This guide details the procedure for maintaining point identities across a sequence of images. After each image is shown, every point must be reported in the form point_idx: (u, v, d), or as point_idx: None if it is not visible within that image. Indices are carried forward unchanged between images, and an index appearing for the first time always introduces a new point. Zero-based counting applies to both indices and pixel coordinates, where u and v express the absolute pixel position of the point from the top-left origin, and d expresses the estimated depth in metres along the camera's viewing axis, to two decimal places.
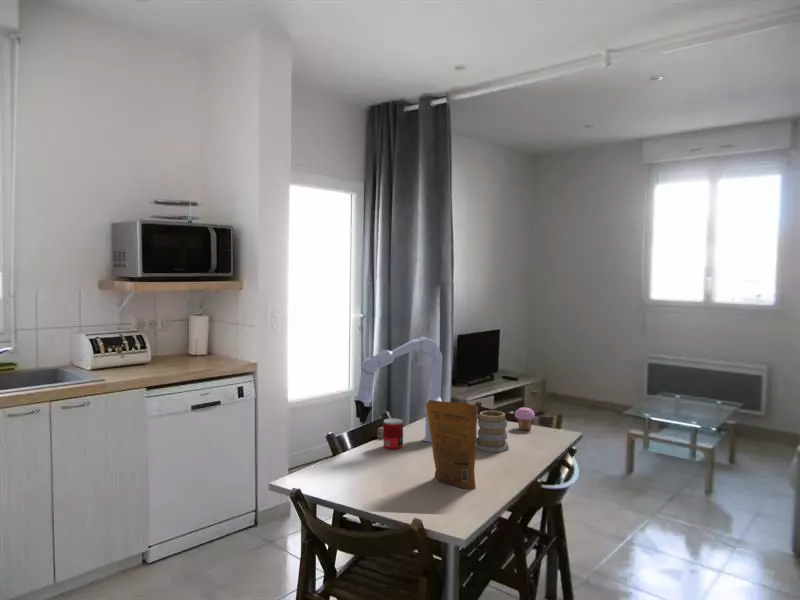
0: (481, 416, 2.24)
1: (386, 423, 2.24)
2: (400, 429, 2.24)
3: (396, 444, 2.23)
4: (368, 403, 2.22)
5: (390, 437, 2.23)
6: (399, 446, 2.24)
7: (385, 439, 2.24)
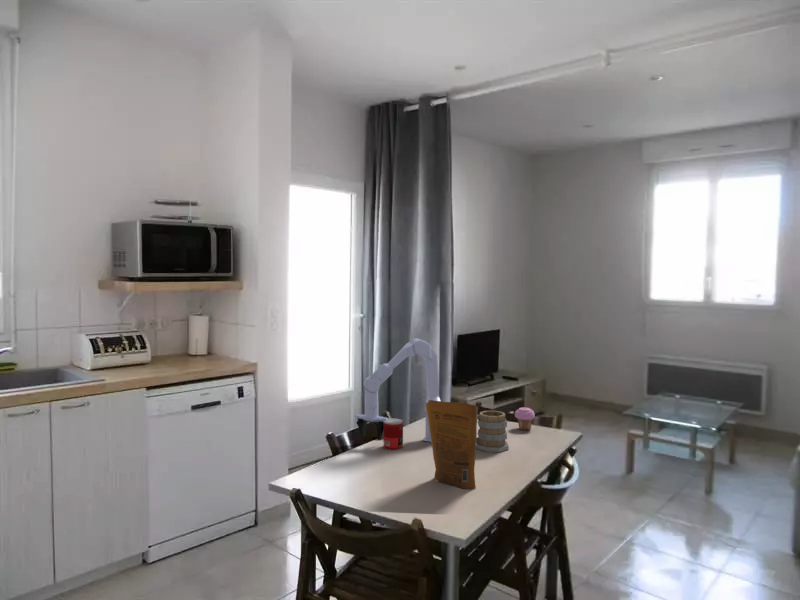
0: (481, 416, 2.24)
1: (386, 423, 2.24)
2: (400, 429, 2.24)
3: (396, 443, 2.23)
4: (387, 419, 2.28)
5: (390, 437, 2.23)
6: (399, 446, 2.24)
7: (385, 439, 2.24)
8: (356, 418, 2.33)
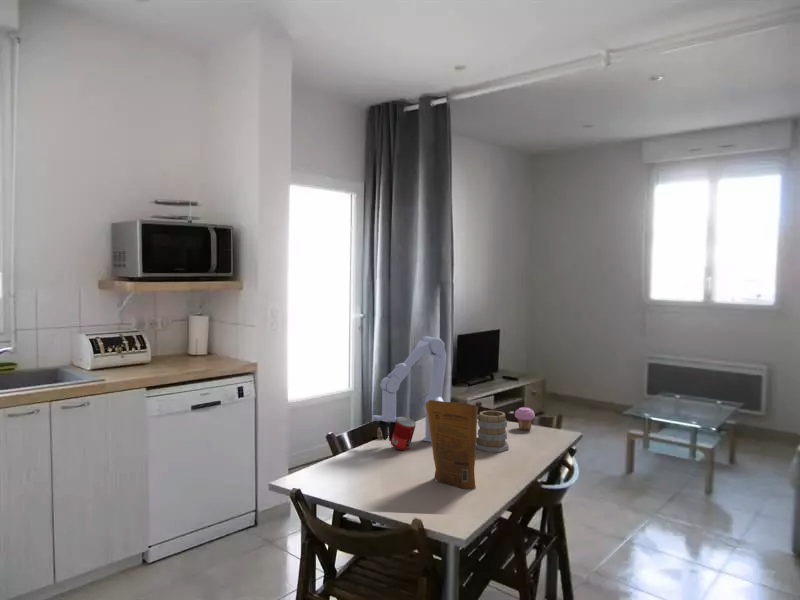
0: (481, 416, 2.24)
1: (399, 423, 2.21)
2: (411, 432, 2.21)
3: (404, 444, 2.21)
4: None
5: (400, 437, 2.21)
6: (406, 447, 2.22)
7: (394, 437, 2.23)
8: (373, 419, 2.29)
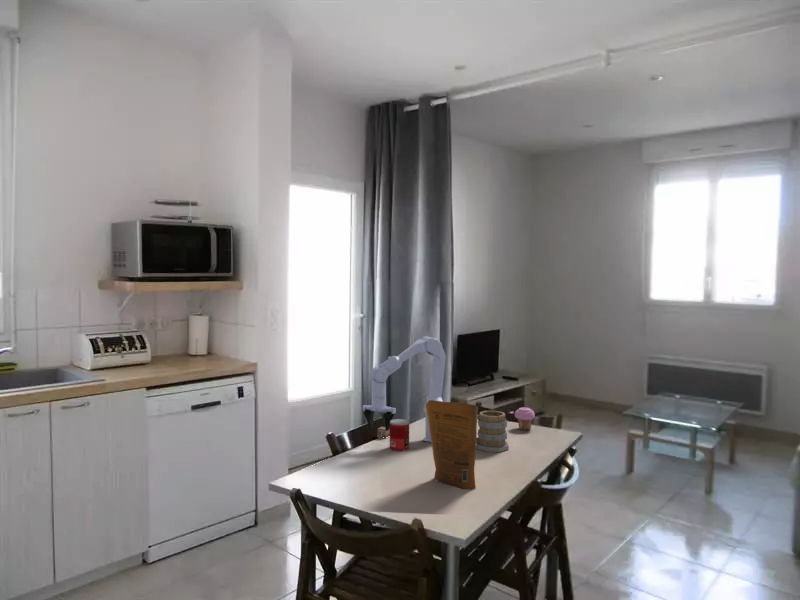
0: (481, 416, 2.24)
1: (392, 424, 2.23)
2: (406, 430, 2.23)
3: (402, 444, 2.22)
4: (395, 410, 2.26)
5: (396, 438, 2.22)
6: (405, 447, 2.23)
7: (391, 440, 2.23)
8: (363, 409, 2.31)
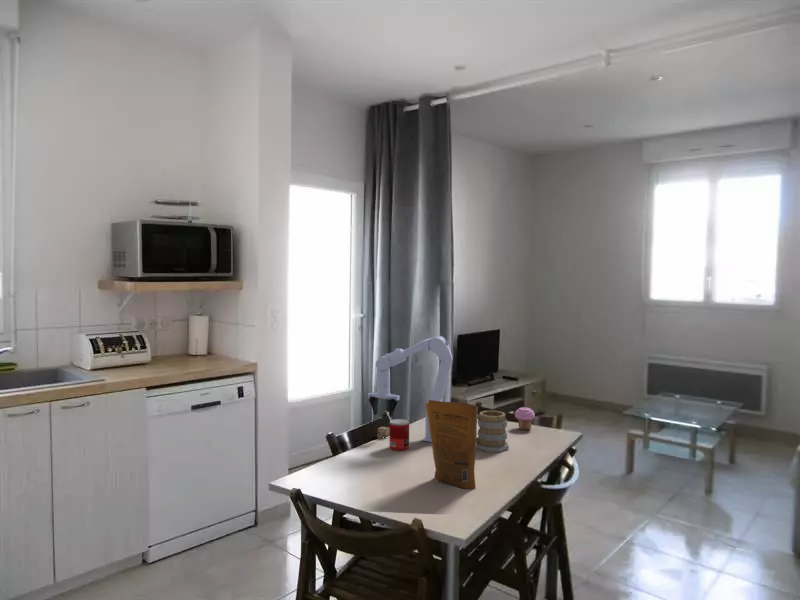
0: (481, 416, 2.24)
1: (392, 424, 2.23)
2: (406, 430, 2.23)
3: (402, 444, 2.22)
4: (398, 397, 2.38)
5: (396, 438, 2.22)
6: (405, 447, 2.23)
7: (391, 440, 2.23)
8: (368, 396, 2.43)
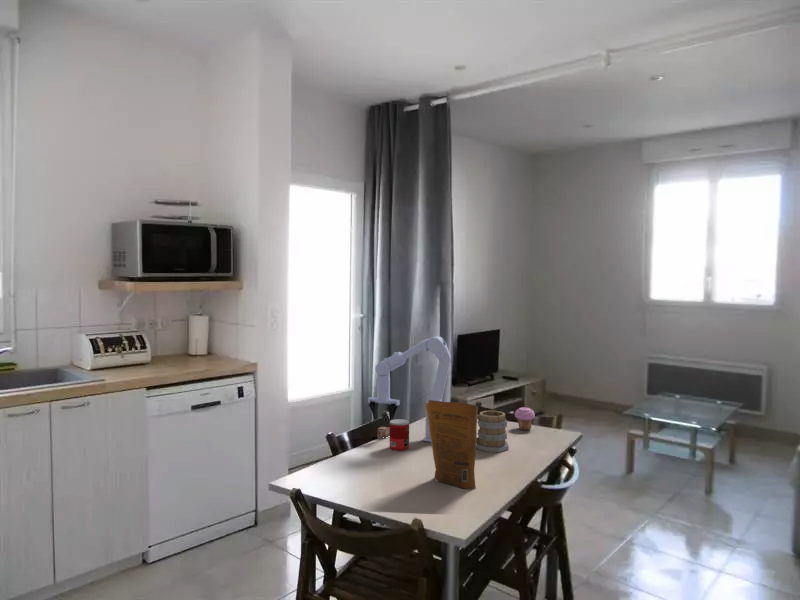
0: (481, 416, 2.24)
1: (392, 424, 2.23)
2: (406, 430, 2.23)
3: (402, 444, 2.22)
4: (399, 402, 2.38)
5: (396, 438, 2.22)
6: (405, 447, 2.23)
7: (391, 440, 2.23)
8: (369, 401, 2.43)
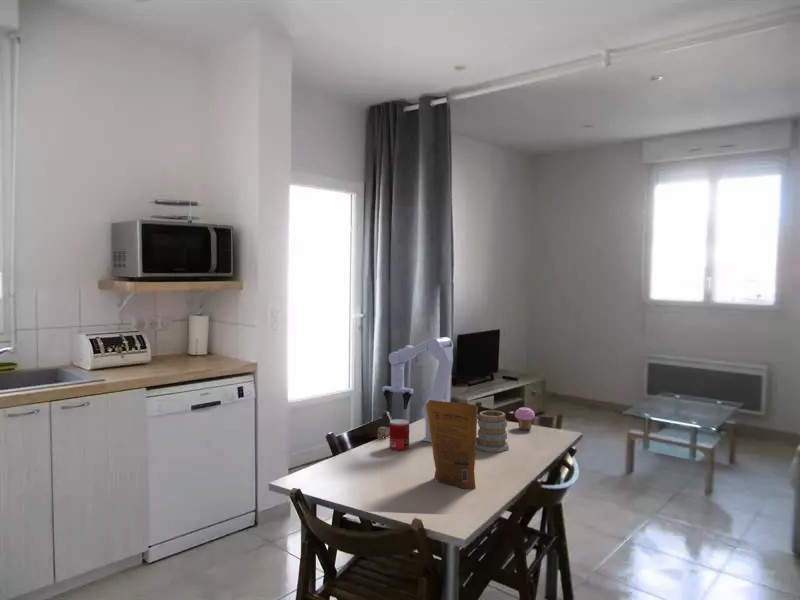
0: (481, 416, 2.24)
1: (392, 424, 2.23)
2: (406, 430, 2.23)
3: (402, 444, 2.22)
4: (412, 390, 2.48)
5: (396, 438, 2.22)
6: (405, 447, 2.23)
7: (391, 440, 2.23)
8: (383, 389, 2.53)
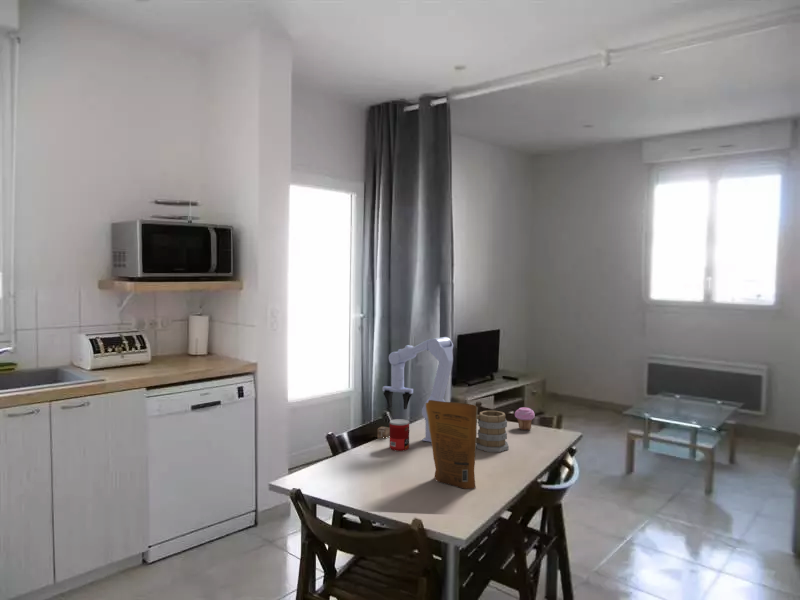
0: (481, 416, 2.24)
1: (392, 424, 2.23)
2: (406, 430, 2.23)
3: (402, 444, 2.22)
4: (412, 390, 2.48)
5: (396, 438, 2.22)
6: (405, 447, 2.23)
7: (391, 440, 2.23)
8: (383, 389, 2.53)
